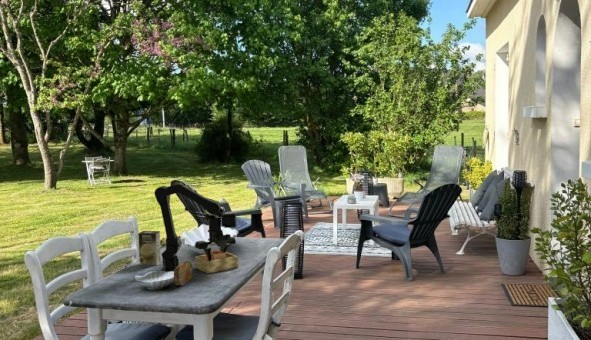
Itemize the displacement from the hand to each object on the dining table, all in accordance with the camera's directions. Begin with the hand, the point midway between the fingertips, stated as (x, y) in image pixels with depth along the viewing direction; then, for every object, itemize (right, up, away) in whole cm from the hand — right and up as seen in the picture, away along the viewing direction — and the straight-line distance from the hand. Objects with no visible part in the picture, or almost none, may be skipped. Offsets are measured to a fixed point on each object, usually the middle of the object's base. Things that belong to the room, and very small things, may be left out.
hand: (216, 260), depth 261 cm
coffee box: (-34, -4, +11) cm, 36 cm away
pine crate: (0, -4, 0) cm, 4 cm away
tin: (-11, -6, -22) cm, 26 cm away
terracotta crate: (0, -1, 0) cm, 1 cm away
